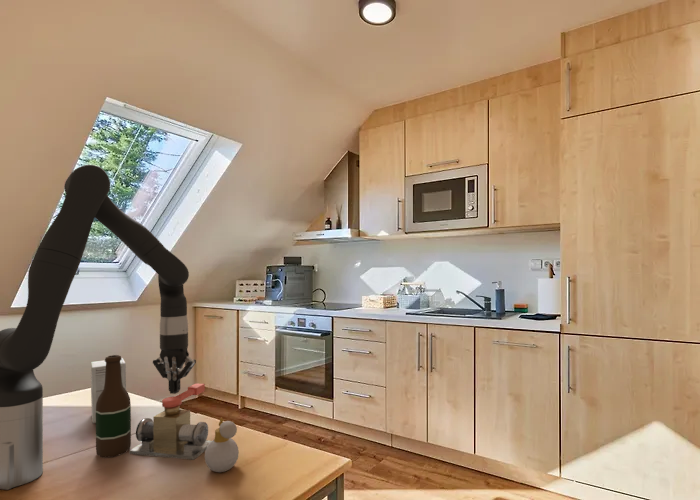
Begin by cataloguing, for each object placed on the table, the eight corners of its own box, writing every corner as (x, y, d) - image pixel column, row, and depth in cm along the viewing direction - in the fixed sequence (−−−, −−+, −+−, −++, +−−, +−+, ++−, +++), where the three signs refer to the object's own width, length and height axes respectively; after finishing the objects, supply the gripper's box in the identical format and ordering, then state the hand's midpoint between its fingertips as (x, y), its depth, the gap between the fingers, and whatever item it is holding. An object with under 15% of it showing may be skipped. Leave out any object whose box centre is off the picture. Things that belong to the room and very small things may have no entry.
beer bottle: (137, 446, 112) (137, 353, 113) (114, 459, 105) (113, 360, 106) (113, 443, 115) (112, 352, 115) (88, 456, 107) (87, 358, 108)
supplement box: (124, 408, 142) (124, 357, 143) (127, 417, 134) (127, 362, 135) (90, 414, 137) (90, 361, 138) (91, 423, 129) (91, 366, 130)
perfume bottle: (222, 459, 104) (222, 408, 105) (253, 468, 99) (252, 415, 100) (197, 472, 98) (196, 418, 98) (228, 483, 93) (227, 426, 93)
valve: (194, 459, 104) (193, 413, 105) (129, 453, 108) (129, 409, 108) (213, 444, 113) (213, 401, 113) (153, 439, 117) (152, 398, 117)
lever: (174, 409, 108) (174, 401, 108) (158, 408, 109) (158, 400, 109) (207, 391, 123) (207, 383, 123) (193, 390, 124) (193, 383, 124)
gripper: (144, 333, 121) (145, 395, 121) (186, 334, 118) (187, 398, 118) (162, 329, 129) (162, 388, 128) (202, 329, 126) (202, 390, 125)
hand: (174, 392), depth 123 cm, fingers closed
